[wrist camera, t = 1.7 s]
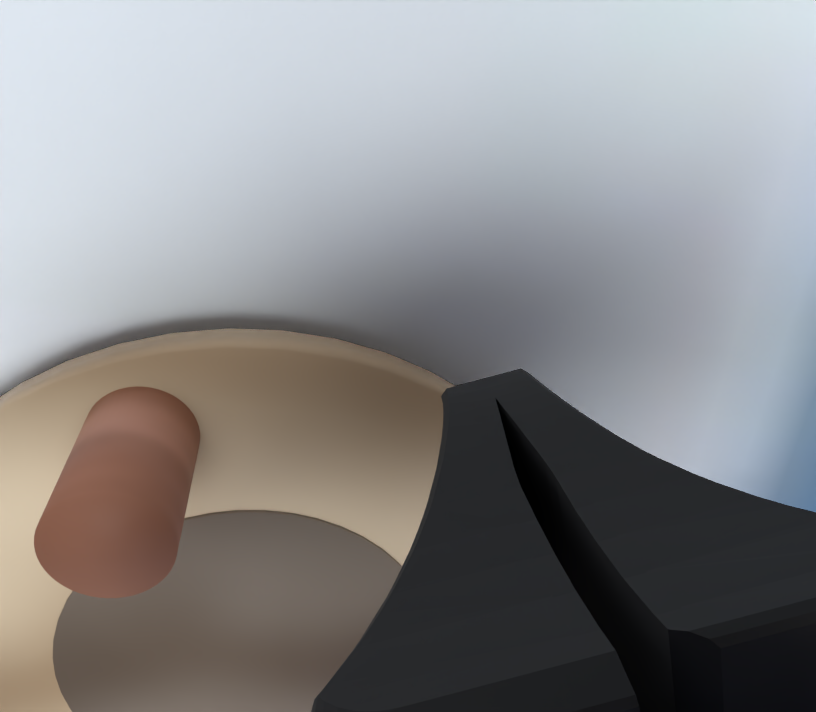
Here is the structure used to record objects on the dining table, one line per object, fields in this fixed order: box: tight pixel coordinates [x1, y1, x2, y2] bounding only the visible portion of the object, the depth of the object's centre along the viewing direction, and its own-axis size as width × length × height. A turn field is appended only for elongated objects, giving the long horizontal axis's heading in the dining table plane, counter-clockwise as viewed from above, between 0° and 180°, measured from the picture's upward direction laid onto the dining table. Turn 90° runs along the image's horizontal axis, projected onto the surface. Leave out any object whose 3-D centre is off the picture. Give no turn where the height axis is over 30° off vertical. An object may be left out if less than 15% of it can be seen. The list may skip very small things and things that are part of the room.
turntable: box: [0, 328, 454, 712], centre depth 16 cm, size 15×15×4 cm
